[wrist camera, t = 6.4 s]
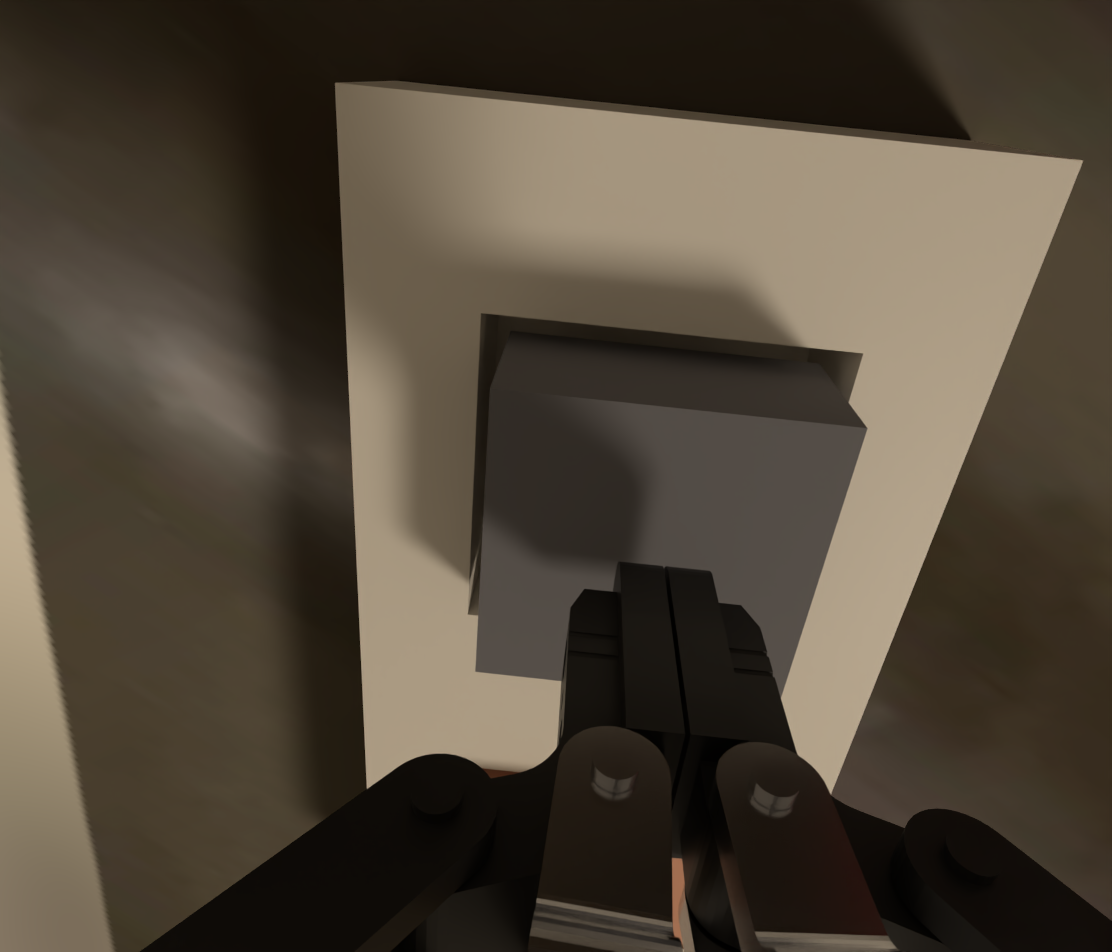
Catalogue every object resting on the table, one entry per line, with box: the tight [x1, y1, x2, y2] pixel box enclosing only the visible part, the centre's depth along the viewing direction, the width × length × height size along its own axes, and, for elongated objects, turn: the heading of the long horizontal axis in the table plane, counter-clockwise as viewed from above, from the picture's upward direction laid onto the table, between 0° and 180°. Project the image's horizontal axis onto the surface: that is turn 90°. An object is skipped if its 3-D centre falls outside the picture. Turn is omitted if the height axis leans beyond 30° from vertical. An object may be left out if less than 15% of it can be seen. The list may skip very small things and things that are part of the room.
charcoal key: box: [475, 331, 868, 697], centre depth 15 cm, size 6×6×3 cm
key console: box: [335, 81, 1083, 952], centre depth 20 cm, size 26×12×4 cm, turn 175°
